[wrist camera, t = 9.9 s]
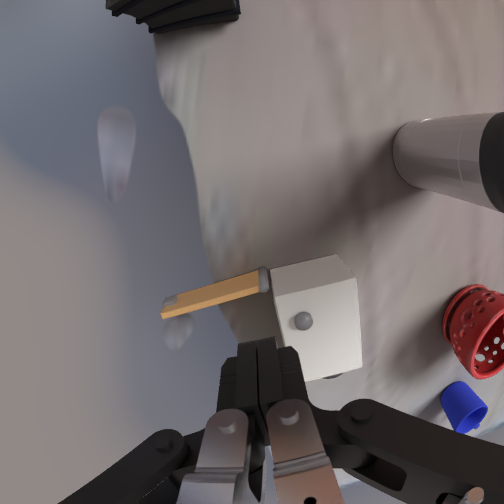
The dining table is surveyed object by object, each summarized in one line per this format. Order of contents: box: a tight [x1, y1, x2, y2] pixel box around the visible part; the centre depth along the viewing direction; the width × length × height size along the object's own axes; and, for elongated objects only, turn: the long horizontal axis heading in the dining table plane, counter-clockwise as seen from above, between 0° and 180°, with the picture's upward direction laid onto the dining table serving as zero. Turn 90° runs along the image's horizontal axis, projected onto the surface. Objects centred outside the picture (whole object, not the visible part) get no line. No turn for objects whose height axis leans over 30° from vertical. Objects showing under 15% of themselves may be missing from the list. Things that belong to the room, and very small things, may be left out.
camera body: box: [270, 254, 362, 382], centre depth 37 cm, size 9×15×9 cm, turn 13°
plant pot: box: [442, 284, 504, 379], centre depth 37 cm, size 13×13×12 cm
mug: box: [441, 381, 488, 434], centre depth 44 cm, size 8×12×10 cm
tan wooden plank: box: [160, 267, 269, 319], centre depth 38 cm, size 2×14×5 cm, turn 108°
